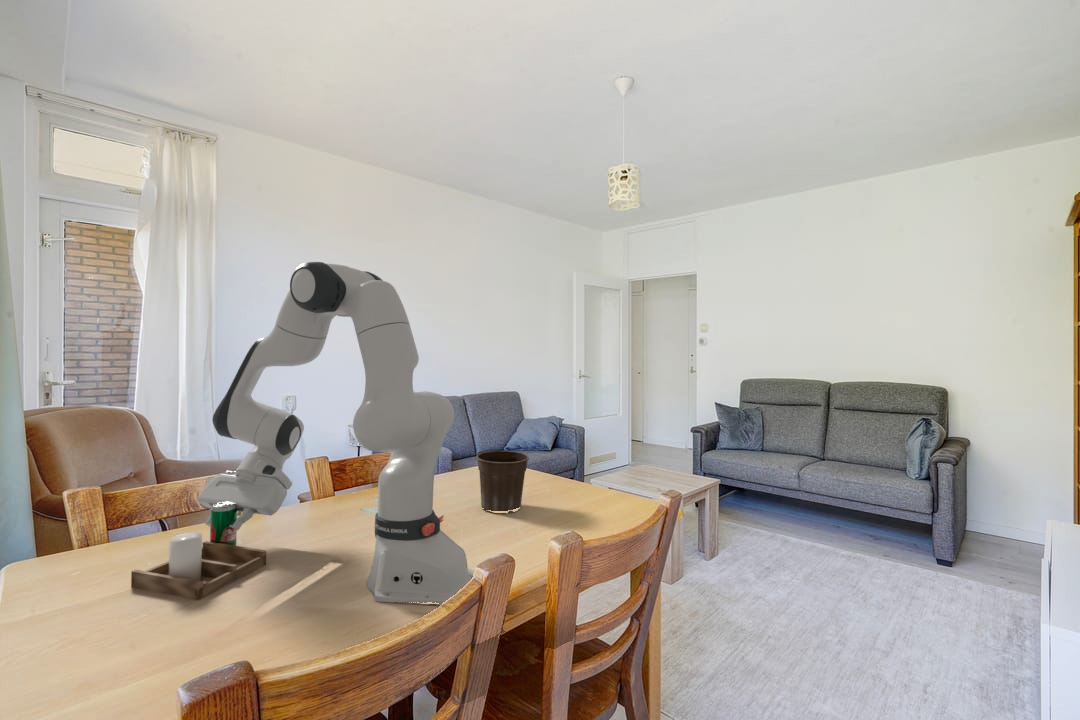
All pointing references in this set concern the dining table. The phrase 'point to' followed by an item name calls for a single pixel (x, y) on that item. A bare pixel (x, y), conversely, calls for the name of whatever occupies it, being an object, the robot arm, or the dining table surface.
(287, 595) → the dining table surface
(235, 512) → the soda can
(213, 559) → the divided compartment tray
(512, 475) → the plant pot
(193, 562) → the white rounded cylinder
